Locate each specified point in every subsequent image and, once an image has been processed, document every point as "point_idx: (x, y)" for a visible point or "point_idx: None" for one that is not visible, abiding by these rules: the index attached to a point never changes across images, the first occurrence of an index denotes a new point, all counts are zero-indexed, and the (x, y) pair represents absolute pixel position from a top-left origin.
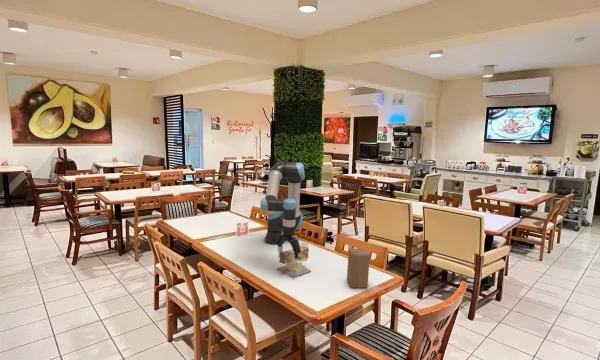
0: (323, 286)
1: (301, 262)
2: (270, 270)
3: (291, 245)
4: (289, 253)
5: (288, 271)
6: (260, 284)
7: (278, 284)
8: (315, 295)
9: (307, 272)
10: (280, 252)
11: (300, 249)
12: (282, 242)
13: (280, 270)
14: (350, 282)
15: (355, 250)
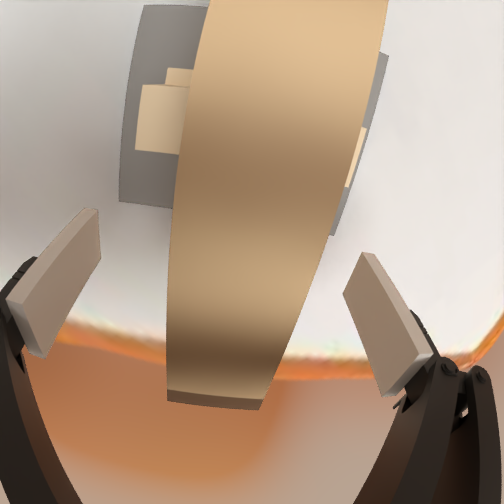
0: (494, 211)
1: (363, 129)
2: (112, 240)
3: (361, 499)
4: (282, 351)
5: None
6: None
7: (293, 335)
8: (471, 298)
9: (377, 95)
10: (176, 401)
11: (329, 10)
12: (46, 442)
13: (167, 204)
14: None
15: None
